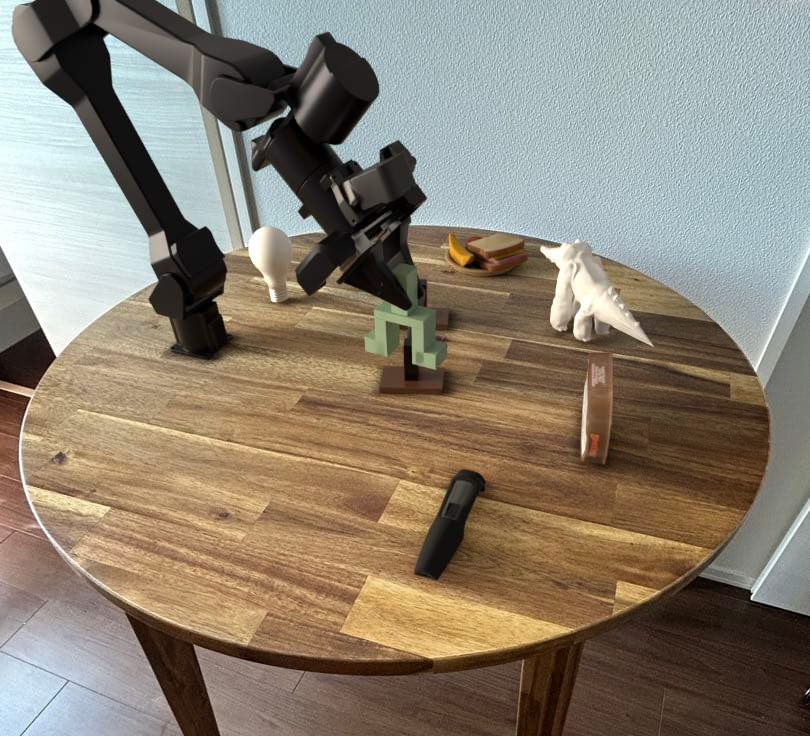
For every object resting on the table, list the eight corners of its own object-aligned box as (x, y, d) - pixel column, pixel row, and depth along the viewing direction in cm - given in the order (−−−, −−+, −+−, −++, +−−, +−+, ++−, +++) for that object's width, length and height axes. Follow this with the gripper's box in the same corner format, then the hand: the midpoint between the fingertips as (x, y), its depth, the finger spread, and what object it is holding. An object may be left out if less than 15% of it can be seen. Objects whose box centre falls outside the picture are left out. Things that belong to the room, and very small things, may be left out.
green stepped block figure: (365, 351, 76) (358, 266, 68) (378, 339, 78) (372, 255, 70) (435, 370, 73) (436, 283, 65) (447, 357, 74) (449, 271, 67)
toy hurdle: (379, 392, 82) (376, 351, 78) (395, 311, 97) (393, 273, 92) (442, 394, 82) (442, 353, 77) (448, 312, 96) (449, 274, 92)
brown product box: (603, 480, 70) (620, 416, 64) (573, 477, 70) (587, 413, 64) (603, 400, 80) (618, 337, 74) (577, 397, 80) (589, 335, 74)
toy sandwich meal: (499, 241, 113) (502, 212, 109) (537, 272, 104) (541, 242, 100) (433, 254, 110) (433, 225, 106) (466, 287, 101) (467, 257, 98)
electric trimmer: (403, 585, 61) (402, 563, 59) (455, 480, 71) (455, 457, 68) (441, 596, 60) (441, 574, 58) (488, 487, 70) (490, 465, 67)
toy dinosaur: (553, 295, 99) (564, 219, 90) (666, 370, 84) (691, 287, 76) (516, 306, 96) (524, 229, 88) (624, 385, 82) (645, 301, 74)
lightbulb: (309, 297, 100) (298, 224, 92) (282, 315, 97) (269, 240, 89) (277, 288, 103) (264, 216, 95) (250, 305, 99) (235, 231, 91)
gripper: (304, 147, 54) (422, 301, 58) (409, 93, 65) (502, 225, 69) (247, 229, 62) (355, 358, 67) (349, 168, 73) (435, 282, 78)
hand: (415, 302), depth 70 cm, fingers closed on green stepped block figure, 2 cm apart
